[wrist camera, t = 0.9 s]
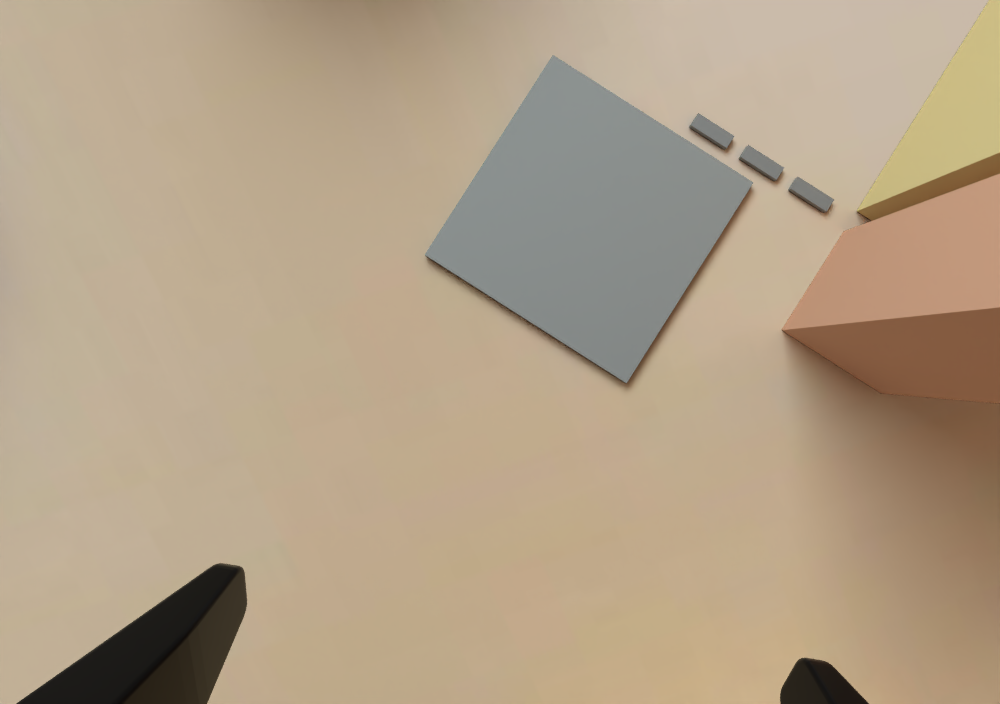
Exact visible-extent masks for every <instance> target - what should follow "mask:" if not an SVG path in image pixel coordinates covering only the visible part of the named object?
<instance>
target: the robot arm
mask: <svg viewBox="0 0 1000 704" xmlns="http://www.w3.org/2000/svg"><path fill="white" fill-rule="evenodd" d="M246 607H247V594H246V583H245V573H244V570H243V568H242V567H240V566H236V565H230V564H223V563H219V564H215V565H213V566H212V567H210V568H209V569H207V570H206V571H204V572H203V573H202V574H200V575H199V576H197V577H196V578H194V579H193V580H192V581H190V582H189V583H187V584H186V585H184V586H183V587H182V588H180V589H179V590H177V591H176V592H174V593H173V594H172V595H170V596H169V597H167V598H166V599H165V600H163V601H162V602H160V603H159V604H157V605H156V606H155V607H153V608H152V609H150V610H149V611H147V612H146V613H145V614H143V615H142V616H140V617H139V618H137V619H136V620H135V621H133V622H132V623H130V624H129V625H128V626H126V627H125V628H123V629H122V630H120V631H119V632H118V633H116V634H115V635H113V636H112V637H110V638H109V639H108V640H106V641H105V642H103V643H102V644H100V645H99V646H98V647H96V648H95V649H93V650H92V651H91V652H89V653H88V654H86V655H85V656H83V657H82V658H81V659H79V660H78V661H76V662H75V663H73V664H72V665H71V666H69V667H68V668H66V669H65V670H63V671H62V672H61V673H59V674H58V675H56V676H55V677H54V678H52V679H51V680H49V681H48V682H46V683H45V684H44V685H42V686H41V687H39V688H38V689H36V690H35V691H34V692H32V693H31V694H29V695H28V696H26V697H25V698H24V699H22V700H21V701H19V702H18V703H17V704H207V702H208V700H209V698H210V695H211V693H212V691H213V688H214V686H215V684H216V681H217V679H218V676H219V674H220V672H221V669H222V667H223V665H224V662H225V660H226V658H227V655H228V653H229V650H230V648H231V646H232V643H233V641H234V639H235V636H236V634H237V632H238V629H239V627H240V624H241V622H242V620H243V617H244V614H245V611H246ZM780 703H781V704H869V703H868V702H867V701H866V700H865V699H864V698H863V697H862V696H861V695H860V694H859V693H858V692H857V691H856V690H855V689H854V688H853V687H852V686H851V685H850V684H849V683H848V681H847V680H846V679H845V678H844V677H843V676H842V675H841V674H840V673H839V672H838V671H837V670H836V669H835V668H834V667H833V666H832V665H831V664H829V663H828V662H825V661H822V660H816V659H810V658H801V659H799V660H798V661H797V662H796V664H795V666H794V667H793V669H792V671H791V672H790V674H789V676H788V678H787V679H786V681H785V683H784V685H783V687H782V689H781V694H780Z"/></svg>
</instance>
